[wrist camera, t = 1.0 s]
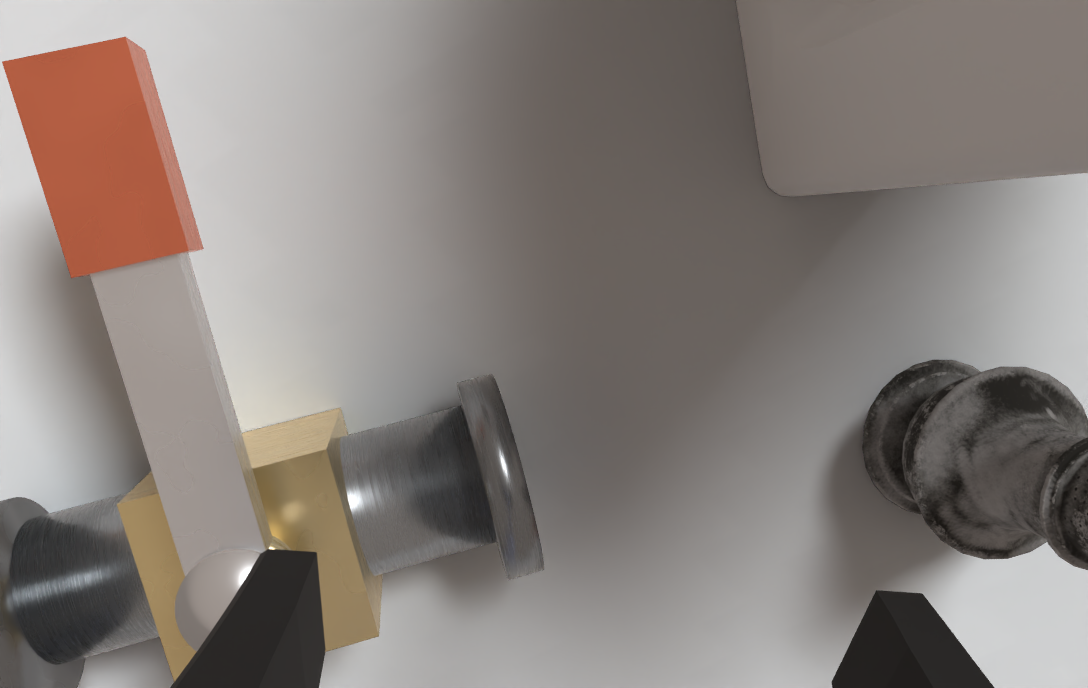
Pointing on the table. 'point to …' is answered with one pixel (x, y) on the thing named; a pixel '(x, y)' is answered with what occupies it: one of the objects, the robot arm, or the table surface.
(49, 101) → the valve lever
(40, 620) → the valve
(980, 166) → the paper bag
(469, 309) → the table surface
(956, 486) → the salt shaker
